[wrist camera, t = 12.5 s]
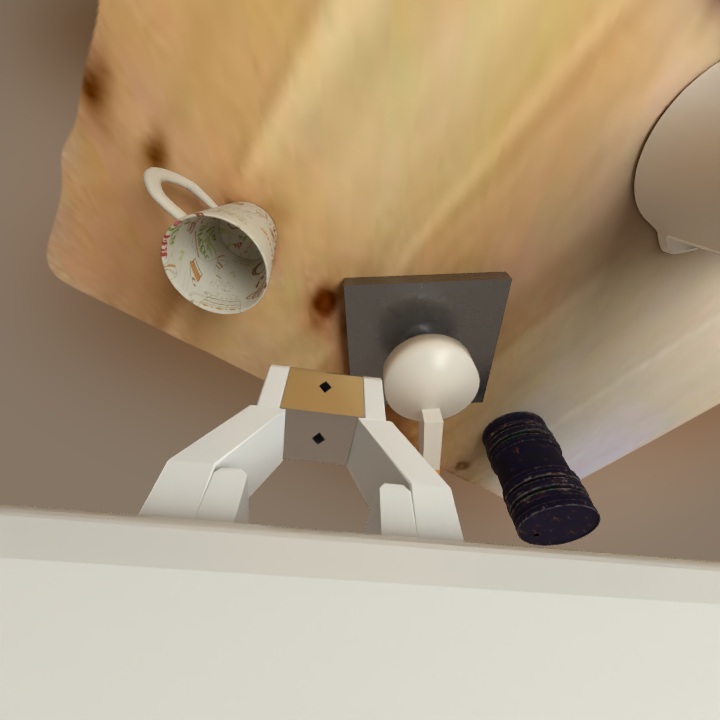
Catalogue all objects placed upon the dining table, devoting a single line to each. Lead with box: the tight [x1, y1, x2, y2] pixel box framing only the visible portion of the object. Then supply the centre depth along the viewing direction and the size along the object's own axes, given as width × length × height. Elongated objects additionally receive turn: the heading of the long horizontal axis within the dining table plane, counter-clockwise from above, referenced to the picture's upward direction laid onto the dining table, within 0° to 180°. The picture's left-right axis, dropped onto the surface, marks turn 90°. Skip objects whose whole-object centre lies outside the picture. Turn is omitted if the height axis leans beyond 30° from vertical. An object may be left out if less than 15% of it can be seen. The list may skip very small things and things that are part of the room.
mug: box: [143, 167, 277, 314], centre depth 30 cm, size 8×13×10 cm, turn 43°
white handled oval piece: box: [383, 334, 480, 476], centre depth 39 cm, size 18×10×5 cm, turn 5°
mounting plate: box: [344, 272, 512, 405], centre depth 41 cm, size 18×18×6 cm
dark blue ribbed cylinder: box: [482, 412, 600, 546], centre depth 48 cm, size 10×10×15 cm
